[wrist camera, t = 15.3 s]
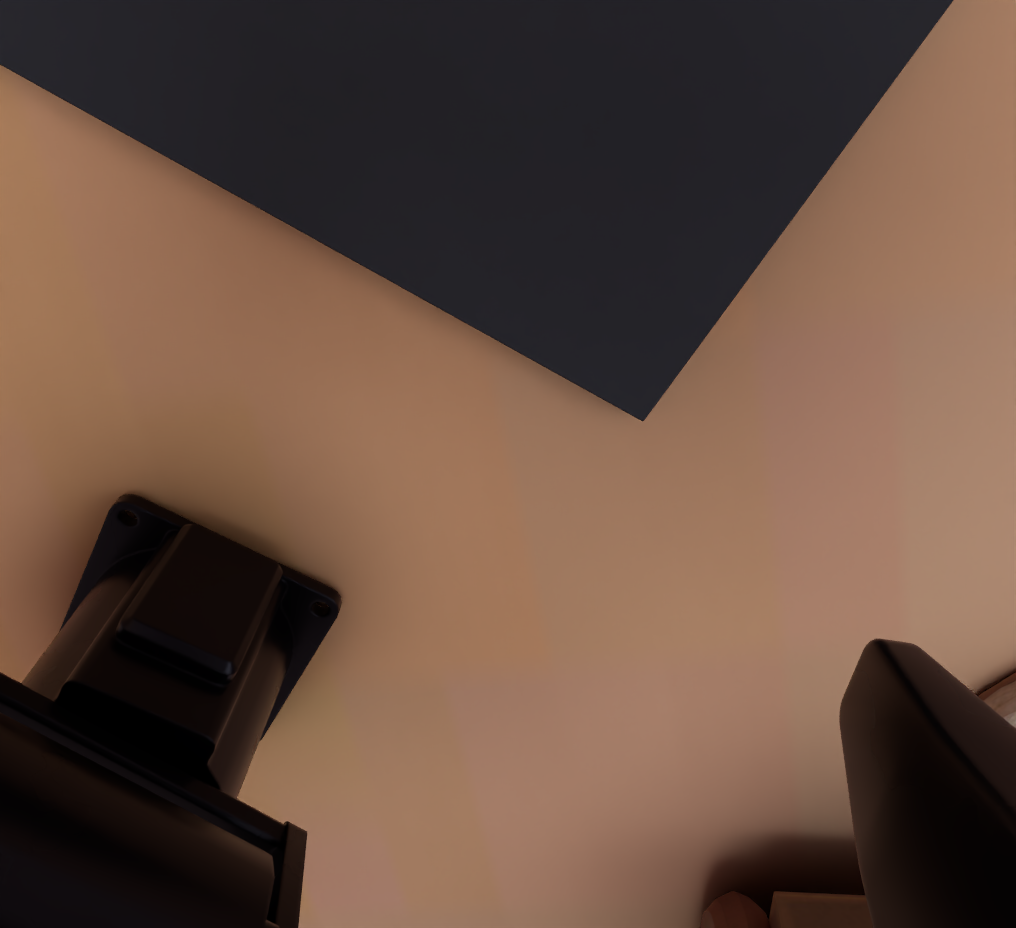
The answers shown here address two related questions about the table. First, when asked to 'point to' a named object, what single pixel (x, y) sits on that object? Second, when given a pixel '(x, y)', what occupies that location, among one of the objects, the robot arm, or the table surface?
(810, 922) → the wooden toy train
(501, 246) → the mat
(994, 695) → the sandal
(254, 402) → the table surface
